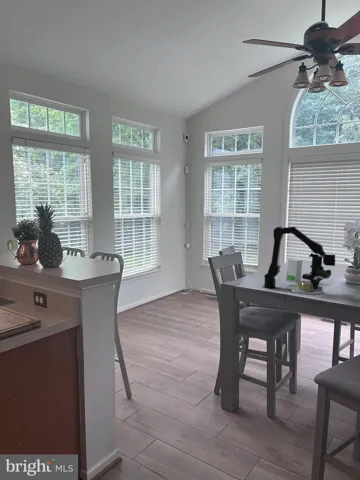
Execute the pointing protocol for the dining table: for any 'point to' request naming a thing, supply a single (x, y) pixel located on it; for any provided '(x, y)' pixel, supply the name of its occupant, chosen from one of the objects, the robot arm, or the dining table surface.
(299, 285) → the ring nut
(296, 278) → the skincare box
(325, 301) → the dining table surface
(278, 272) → the robot arm
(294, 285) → the clear glass plate
